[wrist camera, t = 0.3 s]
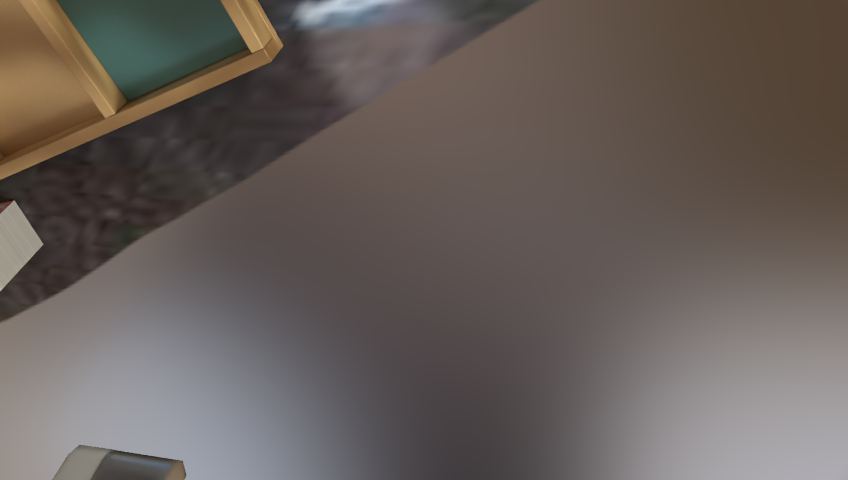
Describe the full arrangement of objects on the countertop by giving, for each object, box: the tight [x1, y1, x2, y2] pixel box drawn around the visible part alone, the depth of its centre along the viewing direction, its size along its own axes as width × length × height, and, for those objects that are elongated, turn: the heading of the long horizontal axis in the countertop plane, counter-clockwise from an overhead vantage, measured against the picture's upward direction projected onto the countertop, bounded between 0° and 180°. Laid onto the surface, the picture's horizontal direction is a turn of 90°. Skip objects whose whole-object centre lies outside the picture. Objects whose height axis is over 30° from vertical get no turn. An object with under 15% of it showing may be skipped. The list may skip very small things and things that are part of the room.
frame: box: [0, 0, 283, 180], centre depth 43 cm, size 11×21×2 cm, turn 115°
